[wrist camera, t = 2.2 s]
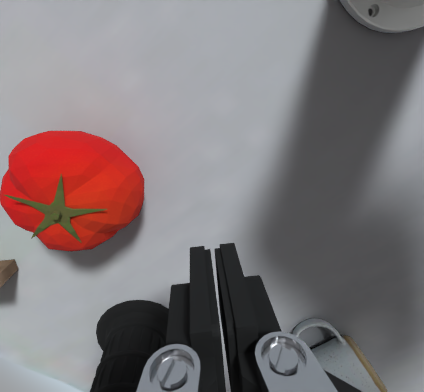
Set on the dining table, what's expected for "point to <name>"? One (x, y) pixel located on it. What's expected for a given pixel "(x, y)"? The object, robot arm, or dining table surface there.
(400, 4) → the robot arm
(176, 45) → the dining table surface
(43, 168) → the tomato
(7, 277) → the box
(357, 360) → the ceramic mug
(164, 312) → the handle grip
